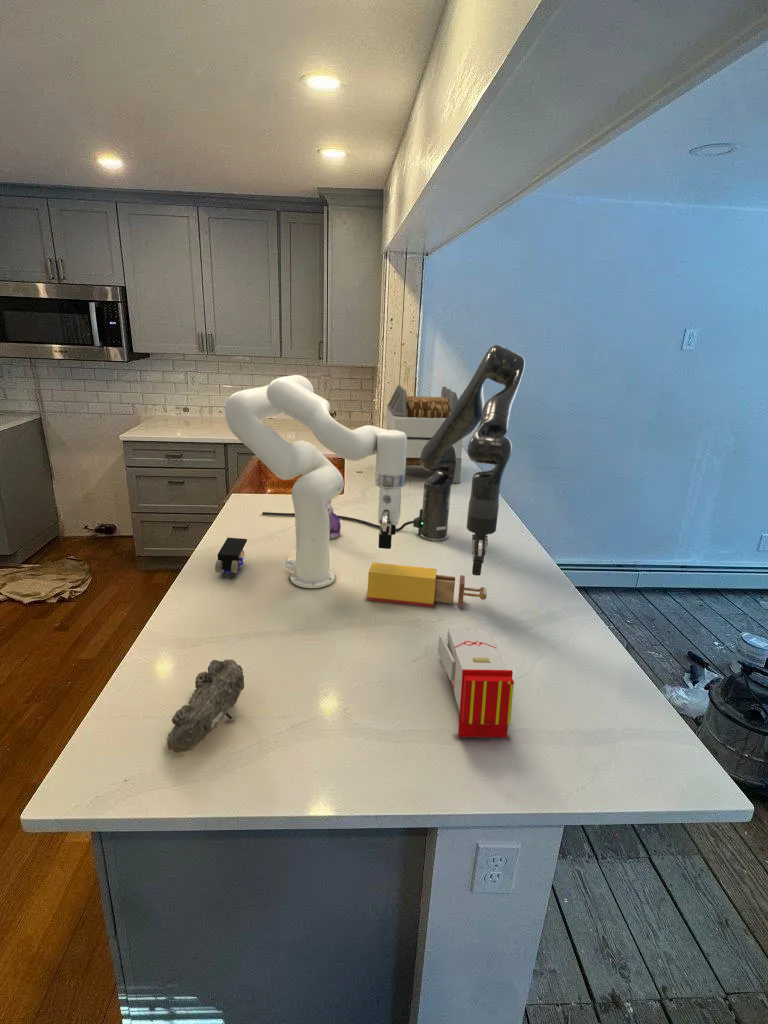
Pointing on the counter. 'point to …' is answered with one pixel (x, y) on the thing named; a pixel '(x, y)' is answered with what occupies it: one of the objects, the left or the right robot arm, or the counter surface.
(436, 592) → the drawer
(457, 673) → the toy
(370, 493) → the counter surface
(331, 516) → the figurine
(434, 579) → the cabinet
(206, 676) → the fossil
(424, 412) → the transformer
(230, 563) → the figurine character
